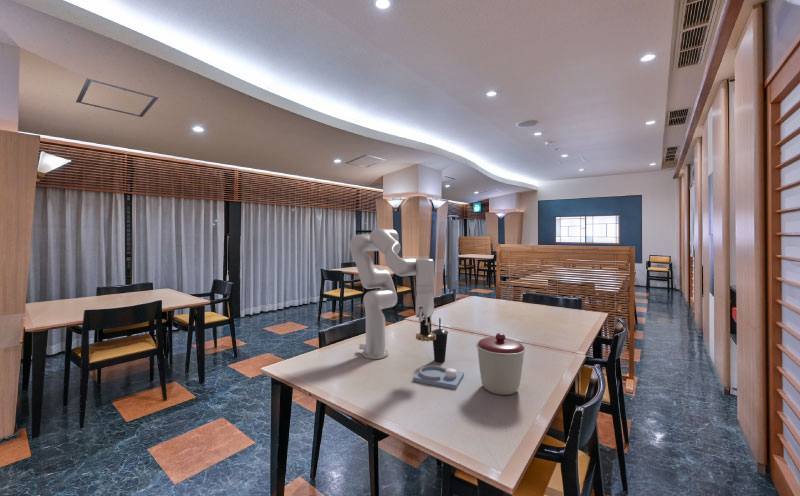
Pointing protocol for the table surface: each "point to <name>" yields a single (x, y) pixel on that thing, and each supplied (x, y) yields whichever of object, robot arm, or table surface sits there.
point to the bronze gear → (426, 337)
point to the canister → (500, 363)
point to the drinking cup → (440, 344)
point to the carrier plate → (439, 376)
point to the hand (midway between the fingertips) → (425, 333)
